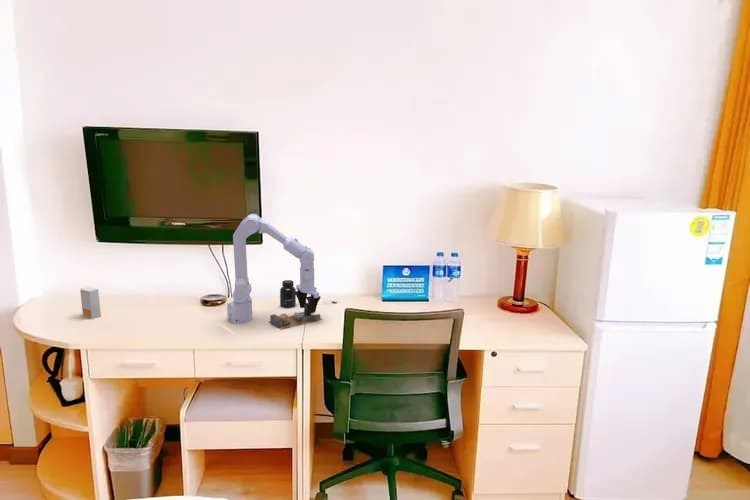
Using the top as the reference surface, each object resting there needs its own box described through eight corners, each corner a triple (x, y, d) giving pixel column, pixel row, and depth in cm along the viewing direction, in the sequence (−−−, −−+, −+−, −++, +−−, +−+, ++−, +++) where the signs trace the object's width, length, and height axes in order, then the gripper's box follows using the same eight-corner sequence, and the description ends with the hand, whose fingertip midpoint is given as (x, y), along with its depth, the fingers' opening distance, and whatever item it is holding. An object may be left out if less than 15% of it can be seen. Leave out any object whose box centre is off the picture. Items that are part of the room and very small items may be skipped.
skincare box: (82, 316, 230) (79, 288, 228) (91, 313, 234) (89, 286, 231) (92, 319, 228) (89, 291, 225) (101, 316, 231) (98, 288, 228)
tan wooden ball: (281, 325, 221) (281, 316, 220) (276, 322, 224) (276, 313, 224) (290, 323, 224) (290, 314, 223) (285, 320, 227) (285, 311, 226)
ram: (299, 321, 226) (299, 307, 225) (294, 318, 229) (293, 304, 228) (314, 317, 230) (314, 304, 229) (309, 314, 234) (309, 301, 232)
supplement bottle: (287, 311, 241) (287, 284, 238) (276, 307, 245) (276, 281, 242) (299, 307, 246) (298, 281, 243) (288, 304, 250) (287, 278, 247)
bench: (280, 332, 218) (280, 321, 217) (267, 323, 226) (267, 313, 225) (323, 321, 229) (323, 311, 228) (309, 314, 238) (308, 304, 237)
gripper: (325, 280, 224) (325, 313, 227) (306, 272, 235) (306, 303, 238) (310, 283, 220) (310, 316, 223) (291, 275, 231) (292, 306, 234)
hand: (307, 310), depth 230 cm, fingers open, 7 cm apart
